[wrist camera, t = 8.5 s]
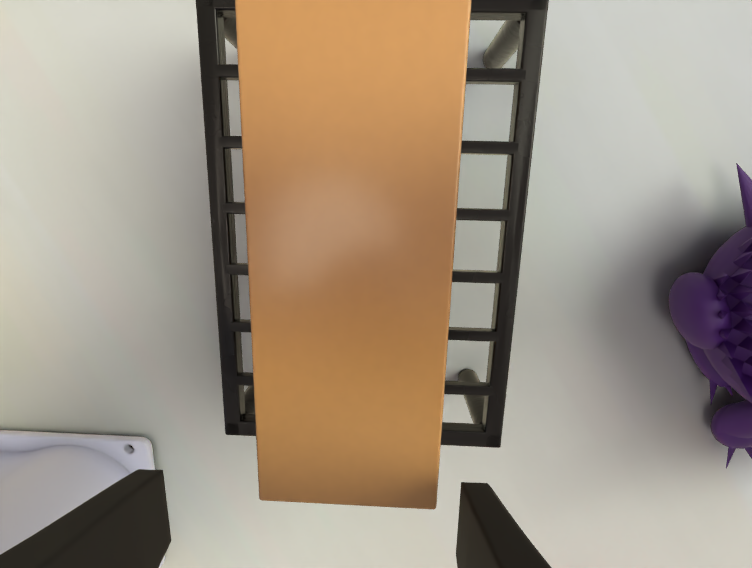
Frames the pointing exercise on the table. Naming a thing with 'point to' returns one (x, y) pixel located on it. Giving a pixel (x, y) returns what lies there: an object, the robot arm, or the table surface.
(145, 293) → the table surface
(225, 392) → the rack
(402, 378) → the orange-brown rectangular block
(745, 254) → the creature
